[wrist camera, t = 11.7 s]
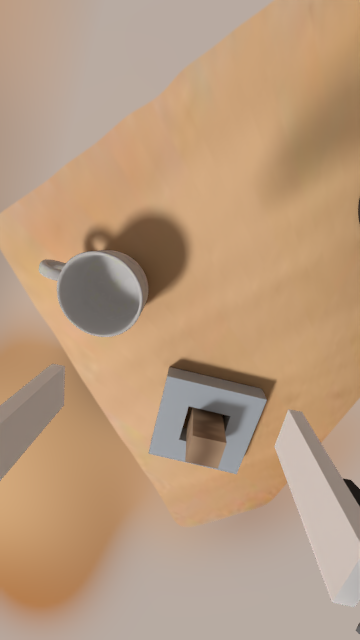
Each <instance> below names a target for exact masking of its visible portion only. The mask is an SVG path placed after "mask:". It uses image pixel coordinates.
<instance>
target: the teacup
mask: <svg viewBox="0 0 360 640" xmlns="http://www.w3.org/2000/svg"><path fill="white" fill-rule="evenodd" d="M39 272H40V273H41V275H43V276H45V277H47V278H49V279H52V280H56V281H58V282H57V295H58V301H59V304H60V306H61V309H62V311H63V312H64V314H65V315H66V317H67V318H68V319H69V320H70V321H71V322H72V323H73V324H74V325H75V326H76V327H77V328H79V329H80V330H82V331H84V332H86V333H88V334H91V335H94V336H99V337H111V336H116V335H119V334H122V333H123V332H125V331H127V330H128V329H130V327H131V326H133V325H134V323H135V322H136V321H137V319H138V317H139V316H140V313H141V312H142V310H143V308H144V306H145V304H146V301H147V298H148V281H147V278H146V275H145V273H144V271H143V269H142V268H141V267H140V265H139V264H138V263H137V262H136V261H135V260H134V259H132V258H131V257H130V256H128V255H126V254H124V253H121V252H118V251H113V250H101V251H89V252H84V253H81V254H78V255H76V256H74V257H73V258H71V259H70V260H69V261H68V262H67V263H63V262H59V261H55V260H43V261H42V262H41V263H40V265H39Z"/></svg>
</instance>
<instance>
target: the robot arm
mask: <svg viewBox="0 0 360 640" xmlns="http://www.w3.org/2000/svg"><path fill="white" fill-rule="evenodd" d="M358 214H359V222H360V200H359V208H358ZM64 378H65V366H61V365H56V364H51V365H50V366H49V367H47V368H46V369H45V370H44V371H42V372H41V373H40V374H39V375H38V376H36V377H35V378H34V379H32V380H31V381H30V382H29V383H28V384H26V385H25V386H24V387H23V388H22V389H20V390H19V391H18V392H17V393H15V394H14V395H13V396H11V397H10V398H9V399H8V400H7V401H5V402H4V403H3V404H2V405H0V481H1V479H2V478H3V477H4V476H5V475H6V473H7V472H8V471H9V470H10V469H11V467H12V466H13V465H14V464H15V463H16V461H17V460H18V459H19V458H20V457H21V455H22V454H23V453H24V452H25V451H26V450H27V448H28V447H29V446H30V445H31V444H32V442H33V441H34V440H35V439H36V438H37V437H38V435H39V434H40V433H41V432H42V431H43V429H44V428H45V427H46V426H47V424H48V423H49V422H50V421H51V420H52V419H53V418H54V416H55V415H56V414H57V413H58V412H59V410H60V409H61V408H62V407H63V406H64ZM275 449H276V452H277V455H278V457H279V460H280V463H281V466H282V468H283V471H284V474H285V476H286V479H287V482H288V484H289V487H290V490H291V493H292V495H293V498H294V501H295V503H296V506H297V509H298V511H299V514H300V517H301V520H302V522H303V525H304V528H305V530H306V533H307V536H308V538H309V541H310V544H311V547H312V549H313V552H314V555H315V558H316V560H317V563H318V566H319V568H320V571H321V574H322V576H323V579H324V582H325V585H326V587H327V590H328V593H329V595H330V598H331V601H332V602H333V603H338V604H342V605H347V606H352V607H355V605H356V604H357V603H358V601H359V600H360V489H359V488H358V487H357V486H356V485H355V484H354V483H353V482H352V481H351V480H348V479H342V477H341V475H340V474H339V472H338V470H337V469H336V467H335V465H334V464H333V462H332V461H331V459H330V457H329V456H328V454H327V453H326V451H325V449H324V447H323V446H322V444H321V442H320V441H319V439H318V438H317V436H316V434H315V433H314V431H313V429H312V428H311V426H310V424H309V423H308V421H307V419H306V418H305V416H304V415H303V413H302V412H300V411H295V410H290V409H288V412H287V415H286V417H285V420H284V423H283V425H282V428H281V431H280V433H279V436H278V439H277V441H276V444H275ZM356 631H357V632H358V633H359V634H360V623H359V625H358V627H357V629H356Z"/></svg>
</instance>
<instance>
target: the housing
mask: <svg viewBox="0 0 360 640" xmlns="http://www.w3.org/2000/svg"><path fill="white" fill-rule="evenodd" d="M266 401H267V399H266V397H265V394H264V392H263V390H262V389H261V388H256V387H252V386H248V385H244V384H240V383H235V382H231V381H227V380H223V379H219V378H214V377H210V376H206V375H202V374H198V373H193V372H189V371H185V370H181V369H177V368H172V367H169V371H168V375H167V379H166V383H165V387H164V391H163V395H162V400H161V404H160V408H159V412H158V416H157V420H156V424H155V428H154V432H153V436H152V440H151V445H150V449H149V454H153V455H157V456H161V457H166V458H170V459H174V460H178V461H183V462H185V457H186V436H187V428H183V424H184V421H185V418H186V414H187V411H188V407H189V406H190V407H194V408H198V409H202V410H207V411H211V412H215V413H219V414H223V415H224V418H223V423H224V429H225V436H226V442H227V443H226V446H225V449H224V452H223V455H222V458H221V461H220V464H219V467H218V469H217V468H213V469H217V470H221V471H225V472H230V473H234V474H237V472H238V469H239V467H240V464H241V462H242V459H243V457H244V455H245V452H246V450H247V447H248V445H249V442H250V440H251V438H252V435H253V433H254V430H255V428H256V425H257V423H258V420H259V418H260V416H261V413H262V411H263V408H264V406H265V403H266ZM187 463H189V462H187ZM191 464H193V463H191ZM195 465H198V464H195ZM200 466H203V465H200ZM204 467H207V466H204ZM208 468H212V467H208Z"/></svg>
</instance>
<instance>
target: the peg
mask: <svg viewBox="0 0 360 640" xmlns="http://www.w3.org/2000/svg"><path fill="white" fill-rule="evenodd" d="M226 443H227V442H226V436H225V429H224V423H223V416H222V414H219V413H215V412H211V411H207V410H202V409H198V408H194V407H191V411H190V415H189V418H188V422H187V436H186V457H185V462H189V463H193V464H198V465H203V466H207V467H212V468H217V469H218V467H219V464H220V461H221V458H222V455H223V452H224V449H225V446H226Z"/></svg>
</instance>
